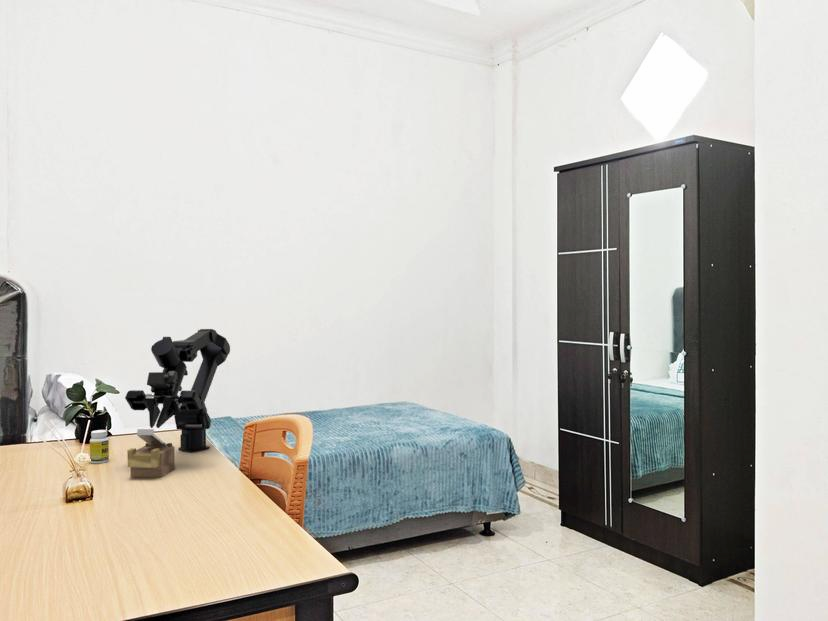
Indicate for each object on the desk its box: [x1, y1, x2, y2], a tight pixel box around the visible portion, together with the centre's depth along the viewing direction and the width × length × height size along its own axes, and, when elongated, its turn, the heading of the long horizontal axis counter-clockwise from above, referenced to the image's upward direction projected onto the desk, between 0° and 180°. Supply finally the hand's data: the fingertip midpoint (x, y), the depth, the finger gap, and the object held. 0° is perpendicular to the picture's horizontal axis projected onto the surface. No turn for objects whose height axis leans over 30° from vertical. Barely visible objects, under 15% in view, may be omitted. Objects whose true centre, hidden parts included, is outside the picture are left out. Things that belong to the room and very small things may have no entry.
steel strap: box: [136, 428, 168, 446], centre depth 175 cm, size 10×4×2 cm, turn 177°
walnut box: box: [126, 442, 176, 478], centre depth 174 cm, size 10×8×7 cm
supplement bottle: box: [89, 429, 110, 464], centre depth 188 cm, size 5×5×8 cm
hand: (154, 427), depth 176 cm, fingers closed
